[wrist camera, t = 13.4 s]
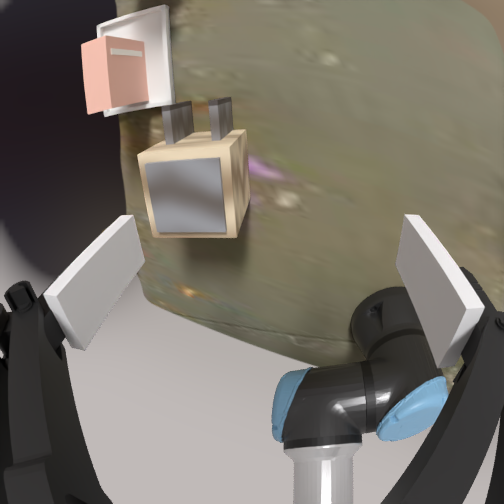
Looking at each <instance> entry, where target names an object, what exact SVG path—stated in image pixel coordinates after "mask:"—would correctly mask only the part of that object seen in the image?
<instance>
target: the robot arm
mask: <svg viewBox="0 0 504 504" xmlns="http://www.w3.org/2000/svg"><path fill="white" fill-rule="evenodd" d="M144 262H145V259H144V255H143V252H142V248H141V244H140V240H139V236H138V232H137V228H136V224H135V219H134V215H122V216H120V217H119V218H118V219H117V220H116V221H115V222H114V223H112V224H111V225H110V226H109V227H108V228H107V229H106V230H105V231H104V232H103V233H102V234H101V235H100V236H99V237H98V238H97V239H96V240H94V241H93V243H91V245H89V246H88V247H87V248H86V249H85V250H84V251H83V252H82V253H81V254H80V255H79V256H78V257H77V258H76V259H75V260H74V261H73V262H72V264H71V265H70V266H68V267H67V268H65V269H64V270H63V272H62V273H61V274H60V275H59V276H58V277H57V278H56V279H55V280H54V282H52V283H51V284H50V286H49V287H48V288H47V289H46V290H45V291H44V292H43V293H42V294H41V295H40V297H39V298H38V299H37V297H36V295H35V292H34V290H33V288H32V286H31V284H30V282H28V281H21V282H18V283H16V284H14V285H13V286H11V287H10V288H9V289H8V290H7V291H6V293H5V295H4V297H5V299H6V301H7V303H8V304H9V306H10V308H11V310H12V312H6V310H5V308H4V306H3V304H1V303H0V350H1V351H2V352H3V354H4V356H3V358H1V357H0V504H113V503H112V502H111V500H110V499H109V498H108V496H107V495H106V494H105V493H104V491H103V490H102V488H101V486H100V484H99V481H98V478H97V476H96V473H95V470H94V468H93V464H92V461H91V458H90V455H89V453H88V449H87V446H86V443H85V439H84V436H83V432H82V429H81V425H80V421H79V417H78V413H77V410H76V406H75V401H74V396H73V391H72V387H71V382H70V377H69V371H68V366H67V358H66V352H65V348H64V346H63V344H62V341H63V340H64V338H65V337H66V339H67V341H68V342H69V344H70V346H71V347H72V348H76V349H80V350H84V351H85V350H86V348H87V347H88V345H89V343H90V342H91V340H92V339H93V337H94V335H95V334H96V332H97V331H98V329H99V328H100V326H101V325H102V323H103V322H104V320H105V319H106V317H107V316H108V313H110V311H111V309H112V308H113V306H114V305H115V304H116V302H117V300H118V299H119V297H120V296H121V295H122V293H123V292H124V290H125V289H126V287H127V286H128V285H129V283H130V282H131V280H132V279H133V277H134V276H135V275H136V273H137V272H138V270H139V269H140V268H141V266H142V265H143V263H144ZM395 265H396V267H397V269H398V272H399V274H400V276H401V278H402V280H403V283H404V285H405V287H391V288H386V289H383V290H380V291H378V292H376V293H374V294H372V295H370V296H369V297H367V298H366V299H365V300H364V301H363V302H362V303H361V304H360V305H359V306H358V307H357V308H356V310H355V312H354V314H353V316H352V320H351V328H352V334H353V338H354V340H355V342H356V343H357V345H358V346H359V348H360V350H361V351H362V353H363V354H364V356H365V357H366V359H367V361H362V362H354V363H348V364H341V365H334V366H327V367H318V368H313V367H309V368H307V369H303V370H297V371H290V372H288V373H286V374H285V375H284V376H283V377H282V378H281V379H280V382H279V383H278V386H277V388H276V392H275V396H274V401H273V408H272V424H273V425H272V434H273V437H274V439H275V440H276V441H279V442H280V443H283V442H284V453H285V454H286V455H288V456H289V457H290V458H291V459H292V460H293V462H294V501H293V502H294V503H293V504H353V456H354V454H355V453H356V452H357V451H358V449H359V448H360V447H361V446H362V434H364V433H370V432H376V435H377V436H378V437H379V439H380V440H382V441H389V440H390V441H398V440H402V439H405V438H408V437H411V436H413V435H415V434H418V433H420V432H421V431H423V430H425V429H427V428H428V427H430V426H431V425H432V424H434V425H433V427H432V428H431V430H430V432H429V434H428V435H427V437H426V439H425V441H424V442H423V444H422V446H421V447H420V449H419V450H418V452H417V454H416V455H415V457H414V458H413V460H412V461H411V463H410V464H409V466H408V467H407V469H406V470H405V472H404V473H403V474H402V476H401V477H400V479H399V480H398V482H397V483H396V484H395V486H394V487H393V488H392V490H391V491H390V492H389V493H388V495H387V496H386V497H385V499H384V500H383V501H382V502H381V504H462V503H463V501H464V500H465V498H466V496H467V494H468V492H469V490H470V488H471V486H472V484H473V482H474V480H475V478H476V476H477V474H478V472H479V469H480V467H481V465H482V463H483V460H484V458H485V456H486V453H487V451H488V448H489V446H490V443H491V441H492V438H493V435H494V432H495V429H496V426H497V424H498V421H499V418H500V426H499V427H500V428H499V435H498V443H497V450H496V456H495V462H494V468H493V472H492V477H491V482H490V486H489V490H488V494H487V498H486V502H485V504H504V312H501V311H497V310H496V309H495V307H494V306H493V304H492V303H491V301H490V299H489V298H488V296H487V295H486V293H485V292H484V291H482V287H481V286H480V285H479V284H478V282H477V280H476V279H475V277H474V276H473V274H471V273H470V272H469V271H468V270H466V269H465V268H464V267H458V266H457V264H456V263H455V261H454V260H453V259H452V257H451V256H450V255H449V253H448V252H447V250H446V249H445V248H444V246H443V245H442V244H441V242H440V241H439V240H438V239H437V237H436V236H435V235H434V233H433V232H432V231H431V230H430V228H429V227H428V226H427V225H426V223H425V222H424V221H423V220H422V218H421V217H420V216H419V215H406V214H405V215H404V221H403V227H402V233H401V238H400V244H399V249H398V254H397V259H396V263H395ZM460 355H462V358H463V360H464V364H463V366H462V368H461V369H460V371H459V372H458V374H457V376H456V377H455V379H454V380H453V382H454V385H453V387H452V390H451V392H450V394H449V395H448V391H447V387H446V379H445V377H444V376H443V373H442V370H441V368H443V367H450V366H455V364H456V362H457V361H458V359H459V357H460ZM500 415H501V416H500Z"/></svg>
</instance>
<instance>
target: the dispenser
mask: <svg viewBox="0 0 504 504" xmlns="http://www.w3.org/2000/svg"><path fill="white" fill-rule="evenodd" d="M208 103H209V115H210V127H211V131H207V132H195V133H194V126H193V116H192V105H191V101H185V102H180V103H176V104H171V105H167V106H162V107H161V108H162V117H163V126H164V134H165V140H164V141H162V142H160V143H158V144H156V145H154V146H152V147H150V148H149V149H147V150H145V151H143V152H141V153H139V154H138V155H137V156H138V162H139V168H140V174H141V180H142V185H143V191H144V196H145V201H146V206H147V211H148V216H149V221H150V225H151V230H152V234H153V238H237V236H238V233H239V230H240V227H241V224H242V221H243V218H244V215H245V212H246V209H247V206H248V203H249V200H250V184H249V167H248V150H247V133H246V129H240V130H233V118H232V103H231V97H224V98H219V99H214V100H210V101H208Z"/></svg>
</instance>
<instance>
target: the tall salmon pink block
mask: <svg viewBox="0 0 504 504" xmlns="http://www.w3.org/2000/svg"><path fill="white" fill-rule="evenodd" d="M81 46H82V63H83V75H84V85H85V94H86V103H87V110H88V114H91V113H95V112H99V111H103V110H107V109H112V108H116V107H120V106H124V105H129V104H134V103H139V102H144V101H149V95H148V85H147V74H146V62H145V48H144V42H142V41H137V40H131V39H126V38H119V37H113V36H106V35H105V36H103V37H100V38H97V39H94V40H92V41H89V42H86V43H84V44H82V45H81Z"/></svg>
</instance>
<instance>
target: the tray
mask: <svg viewBox="0 0 504 504" xmlns="http://www.w3.org/2000/svg"><path fill="white" fill-rule="evenodd" d="M105 35H106V36H113V37H119V38H126V39H131V40H137V41H142V42H144V48H145V62H146V74H147V85H148V95H149V101H144V102H139V103H134V104H129V105H124V106H120V107H116V108H112V109H107V110H104V116H105V117H106V116H110V115H115V114H120V113H124V112H129V111H135V110H140V109H146V108H151V107H157V106H164V105H171V104H176V101H175V90H174V78H173V66H172V52H171V36H170V16H169V6H167V5H160V6H156V7H153V8H149V9H145V10H142V11H138V12H135V13H131V14H128V15H125V16H122V17H119V18H116V19H113V20H110V21H107V22H105V23H102V24H99V25H97V38H100V37H103V36H105Z"/></svg>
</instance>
